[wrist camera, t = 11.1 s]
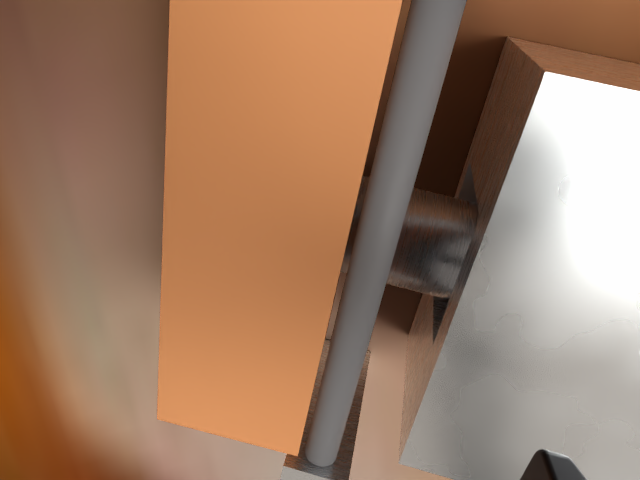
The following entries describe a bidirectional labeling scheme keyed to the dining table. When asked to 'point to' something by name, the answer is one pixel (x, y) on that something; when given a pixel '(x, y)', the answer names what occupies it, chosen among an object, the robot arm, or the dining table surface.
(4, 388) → the dining table surface
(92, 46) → the dining table surface
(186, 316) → the panel
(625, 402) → the block
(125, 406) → the dining table surface
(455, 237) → the lynch pin
